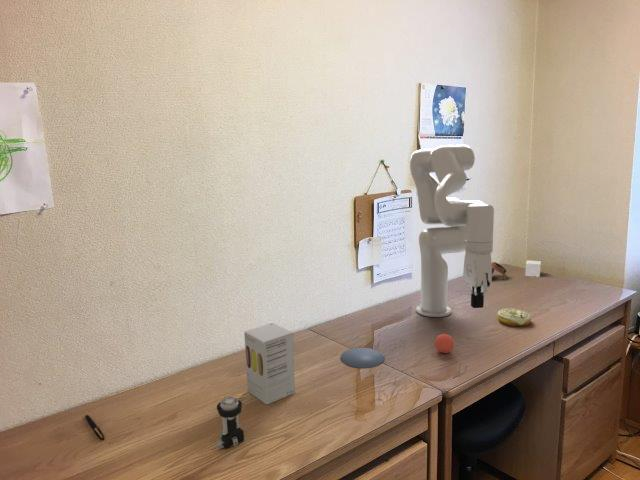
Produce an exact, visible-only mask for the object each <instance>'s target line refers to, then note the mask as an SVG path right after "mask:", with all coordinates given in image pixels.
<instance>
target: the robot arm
mask: <svg viewBox="0 0 640 480" xmlns="http://www.w3.org/2000/svg"><path fill="white" fill-rule="evenodd" d="M475 160H476V158H475V153H474V150H473V149H472V148H471V147H470V146H469V145H467V144H456V145H454V144H453V145H452V144H447V145H446V144H445V145H440V146H437V147H435V148H422V149H418V150H416V151H414V152H413V153H412V154H411V156H410V160H409V168H410V174H411V176H412V180H413V181H414V184H415V188H416V193H417V200H418V202H417V203H418V210H419V216H420V219H421V221H422V223H424V224H425V225H444V226H441V227H440V226H439V227H428V228H425V229H423V230H422V231H421V232H420V233H419V236H418V245H419V253H420V263H421V264H420V304H418V305H417V306H416V308H415V310H416V312H417V313H418V314H419V315H421V316H425V317H429V318H442V317H447V316H449V315H450V314H451V313H452V308H451V307H450V306H448V280H449V279H448V278H449V277H448V276H449V275H448V274H449V273H448V271H449V267H448V263H447V261H446V260H445V258H443V256H442V255H445V254H457V253H463V252H465V254H464V260H463V261H464V262H463V273H462V275H463V276H462V278H463V280H464V281H465V282H466V283H467V284H469V286H470V306H471V307H472V309H479V308H480V309H481V308H484V303H485V302H484V301H485V299H484V298H485V294H486V293H488V288H489V287H491V285H492V281H493V280H492V279H493V274H492V262H493V261H492V253H493V252H494V251H493V247H494V223H495V221H494V220H495V216H494V215H495V208H494V206H493V205H491V204H489V203H485V202H484V201H482V200H461V199H459V198H457V197H448V196H450V195H452V194H453V193H456V192H458V191H459V190H461V189H462V188H463V187H464V186H465V184H466V182H467V180H468V176H467V174H466V172H465V171H469V170H470V169H472V168H473V166H474V165H475ZM431 173H435V176H436V177H435V176H433V175H432V174H431Z"/></svg>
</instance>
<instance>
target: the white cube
mask: <svg viewBox="0 0 640 480" xmlns="http://www.w3.org/2000/svg"><path fill="white" fill-rule="evenodd" d="M525 262H526V263H525V275H524V276H526V277H534V276H536V278H539V277H541V265H542V261H541V260H539V261H538V260H531V259H530V260H529V259H527V260H526V261H525Z"/></svg>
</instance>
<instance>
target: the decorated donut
mask: <svg viewBox="0 0 640 480" xmlns="http://www.w3.org/2000/svg"><path fill="white" fill-rule="evenodd" d="M531 318H532V315H531V314H529V313H528V312H526V311H524V310H521V309H517V308H502V309H500V310H499V311H497V319H498V321H499V322H500V323H501V324H504V325H507V326H510V327H524V326H525V327H526V326H528V325H530V324H531Z"/></svg>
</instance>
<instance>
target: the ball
mask: <svg viewBox="0 0 640 480" xmlns="http://www.w3.org/2000/svg"><path fill="white" fill-rule="evenodd" d="M434 347H435V348H436V350H437V351H438V352H440V353H442V354H447V353H450V352H452V351H453V349H454V347H455V341H454V339H453V338H452V336H450V335H449V334H446V333H441V334H439V335H438V336H437V337H436V338H435V340H434Z"/></svg>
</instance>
